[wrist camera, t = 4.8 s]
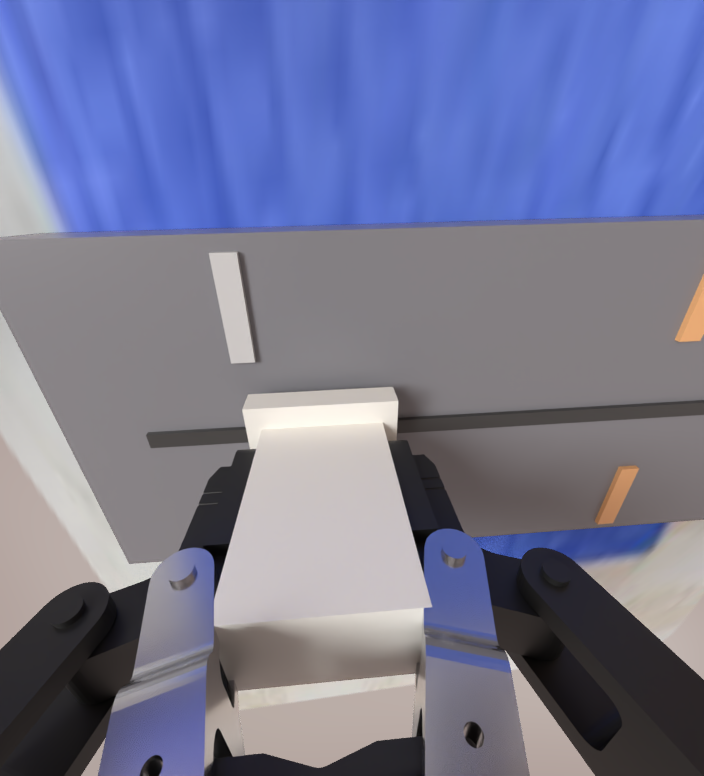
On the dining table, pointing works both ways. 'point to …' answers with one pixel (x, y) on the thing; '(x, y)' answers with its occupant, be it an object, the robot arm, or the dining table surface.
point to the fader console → (380, 358)
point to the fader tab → (320, 546)
